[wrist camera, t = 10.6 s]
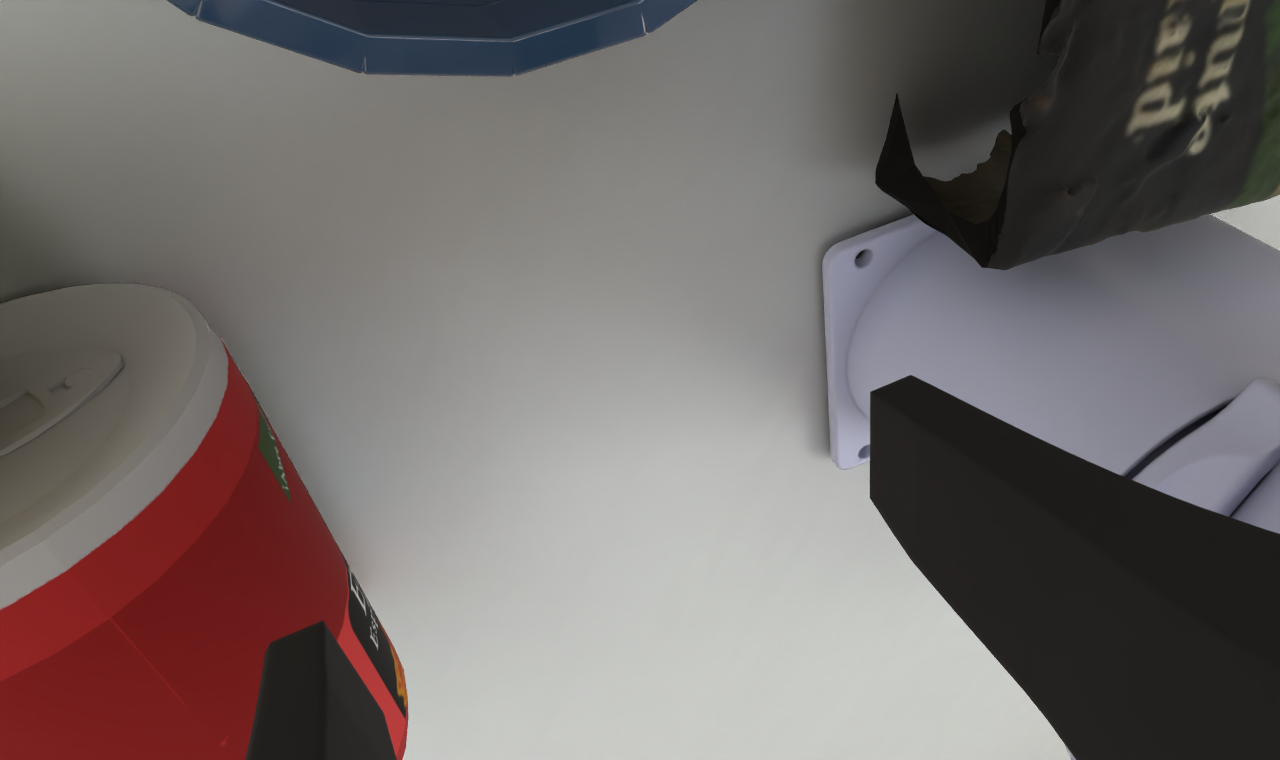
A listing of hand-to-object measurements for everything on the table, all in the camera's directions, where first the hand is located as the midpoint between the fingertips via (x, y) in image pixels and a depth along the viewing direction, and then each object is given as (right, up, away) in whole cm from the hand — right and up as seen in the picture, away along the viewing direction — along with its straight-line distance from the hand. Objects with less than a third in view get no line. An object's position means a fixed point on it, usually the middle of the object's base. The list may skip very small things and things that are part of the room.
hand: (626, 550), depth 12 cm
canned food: (-9, -7, +10) cm, 15 cm away
